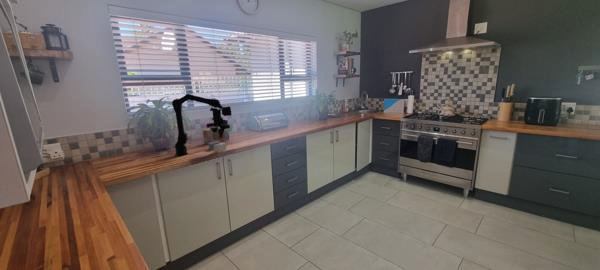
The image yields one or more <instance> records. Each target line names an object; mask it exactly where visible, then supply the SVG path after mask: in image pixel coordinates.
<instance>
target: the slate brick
mask: <svg viewBox="0 0 600 270" xmlns="http://www.w3.org/2000/svg"><path fill="white" fill-rule="evenodd" d="M219 143H222V141H221V142H219V141H216V142H211V143H208V150H209V149H210V151H214V145H216V144H219Z"/></svg>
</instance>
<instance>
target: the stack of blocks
mask: <svg viewBox="0 0 600 270" xmlns="http://www.w3.org/2000/svg"><path fill="white" fill-rule="evenodd" d="M210 128H211V127H210ZM210 128H206V129H204V128H203V129H202V136H203V137H202V138H203V144H204V145H207V144H208V143H211V142H216V141H219V142H221V143H222V142H224V141H229V140H230V132H229V131H228V132H229V133H228V132H227V130H224V131H225V138H223V139H219V140H213V135H212V133H213V132H212V130H211V129H210ZM218 129H220V127H218ZM218 129H217V131H218Z"/></svg>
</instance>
